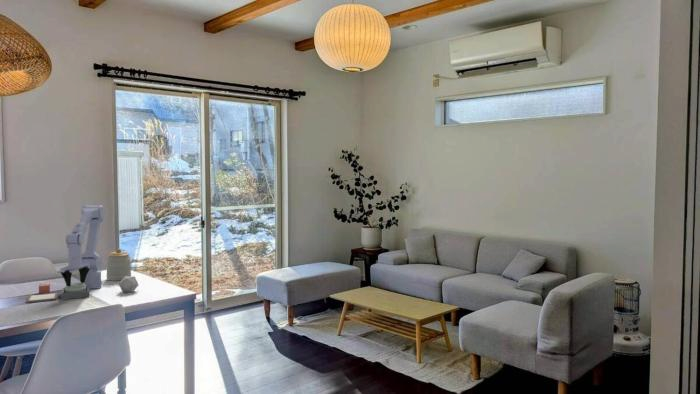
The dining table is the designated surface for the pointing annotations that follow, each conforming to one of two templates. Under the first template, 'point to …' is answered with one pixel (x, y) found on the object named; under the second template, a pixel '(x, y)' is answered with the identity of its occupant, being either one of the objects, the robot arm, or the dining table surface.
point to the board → (42, 297)
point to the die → (128, 284)
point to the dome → (75, 287)
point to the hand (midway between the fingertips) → (75, 284)
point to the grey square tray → (74, 294)
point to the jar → (118, 265)
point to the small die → (44, 288)
